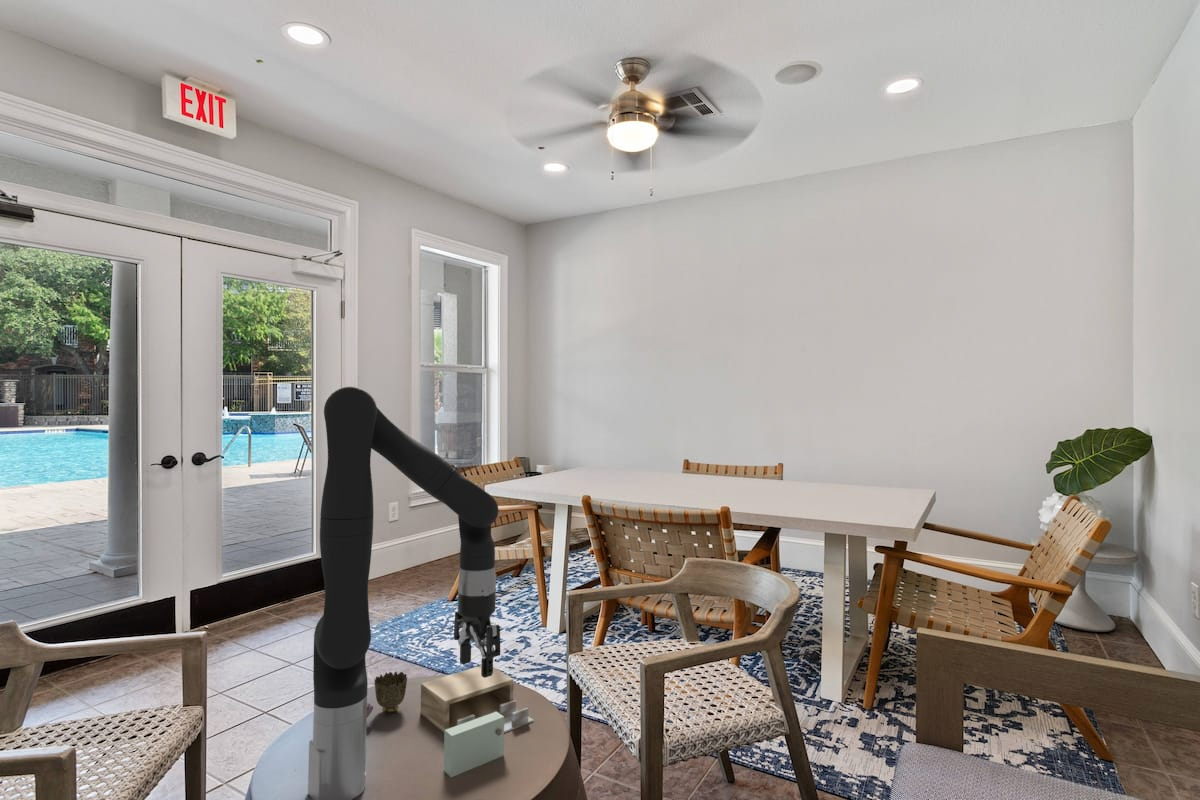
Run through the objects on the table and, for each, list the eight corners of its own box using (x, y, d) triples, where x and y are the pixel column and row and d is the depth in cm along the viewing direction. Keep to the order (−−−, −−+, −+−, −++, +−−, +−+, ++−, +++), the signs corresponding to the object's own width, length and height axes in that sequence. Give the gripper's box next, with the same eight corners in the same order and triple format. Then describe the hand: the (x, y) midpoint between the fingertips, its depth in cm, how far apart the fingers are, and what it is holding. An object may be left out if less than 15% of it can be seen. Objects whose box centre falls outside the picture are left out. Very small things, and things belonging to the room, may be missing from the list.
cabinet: (463, 748, 130) (464, 715, 130) (420, 713, 145) (421, 683, 145) (533, 721, 142) (534, 690, 142) (486, 691, 157) (487, 663, 157)
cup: (372, 707, 148) (373, 673, 148) (404, 702, 151) (405, 669, 151) (375, 721, 141) (375, 686, 141) (408, 715, 144) (409, 680, 144)
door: (453, 780, 119) (454, 738, 119) (443, 771, 122) (444, 730, 122) (506, 757, 127) (506, 718, 127) (495, 750, 130) (496, 711, 130)
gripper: (443, 585, 129) (442, 663, 128) (479, 600, 118) (477, 686, 118) (475, 579, 134) (474, 654, 133) (512, 593, 123) (511, 675, 123)
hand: (476, 669), depth 125 cm, fingers open, 8 cm apart
